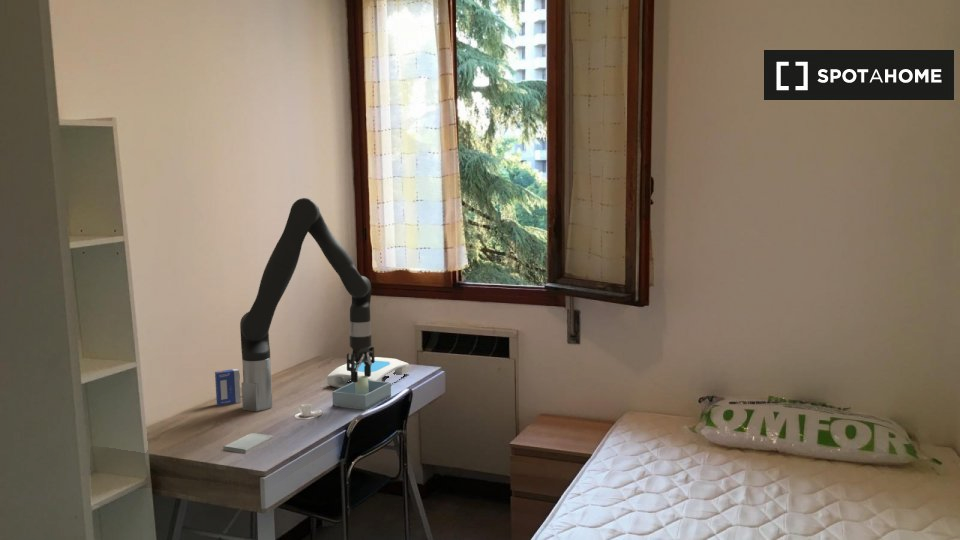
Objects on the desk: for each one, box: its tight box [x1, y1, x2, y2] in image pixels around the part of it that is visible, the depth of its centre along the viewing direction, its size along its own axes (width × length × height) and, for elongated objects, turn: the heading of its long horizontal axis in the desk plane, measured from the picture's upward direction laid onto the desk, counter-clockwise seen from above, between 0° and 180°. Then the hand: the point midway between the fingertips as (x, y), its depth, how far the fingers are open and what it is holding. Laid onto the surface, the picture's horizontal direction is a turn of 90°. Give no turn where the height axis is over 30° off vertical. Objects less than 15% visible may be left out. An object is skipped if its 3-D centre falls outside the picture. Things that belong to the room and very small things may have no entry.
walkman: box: [214, 368, 242, 407], centre depth 257 cm, size 8×3×12 cm, turn 123°
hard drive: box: [222, 432, 274, 454], centre depth 217 cm, size 2×8×12 cm
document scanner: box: [326, 356, 410, 389], centre depth 285 cm, size 21×28×6 cm
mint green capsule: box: [355, 376, 369, 395], centre depth 259 cm, size 5×5×8 cm
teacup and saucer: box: [294, 403, 323, 420], centre depth 243 cm, size 9×8×4 cm
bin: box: [331, 380, 392, 411], centre depth 259 cm, size 17×13×5 cm
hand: (361, 379), depth 258 cm, fingers open, 8 cm apart
